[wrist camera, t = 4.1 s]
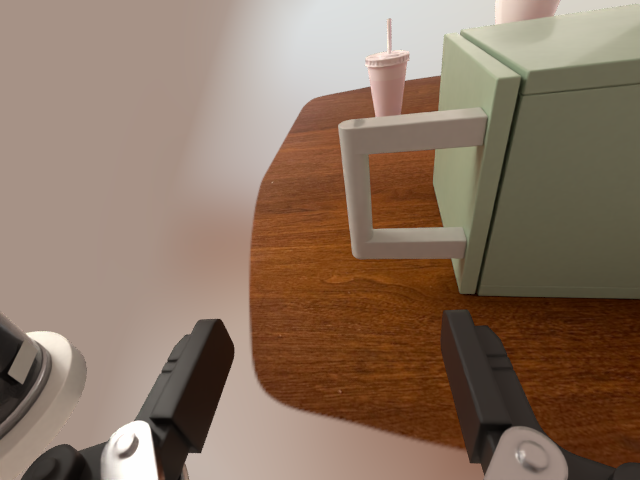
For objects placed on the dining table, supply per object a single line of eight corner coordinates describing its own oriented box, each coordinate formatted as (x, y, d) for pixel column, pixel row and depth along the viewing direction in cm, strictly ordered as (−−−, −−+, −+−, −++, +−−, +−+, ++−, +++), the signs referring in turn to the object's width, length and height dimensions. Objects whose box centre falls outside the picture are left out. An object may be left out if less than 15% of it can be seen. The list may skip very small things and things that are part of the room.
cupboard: (477, 296, 22) (528, 70, 13) (444, 183, 34) (460, 29, 26) (692, 300, 19) (920, 25, 11) (573, 177, 32) (637, 3, 23)
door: (354, 292, 24) (332, 97, 15) (365, 186, 36) (355, 47, 28) (475, 294, 22) (522, 75, 14) (442, 182, 34) (457, 32, 26)
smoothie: (387, 131, 49) (385, 22, 40) (360, 124, 53) (353, 24, 45) (416, 119, 51) (420, 13, 43) (388, 113, 56) (387, 16, 47)
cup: (558, 77, 58) (604, -91, 45) (507, 89, 56) (540, -80, 43) (515, 69, 66) (544, -74, 53) (470, 80, 65) (488, -65, 52)
